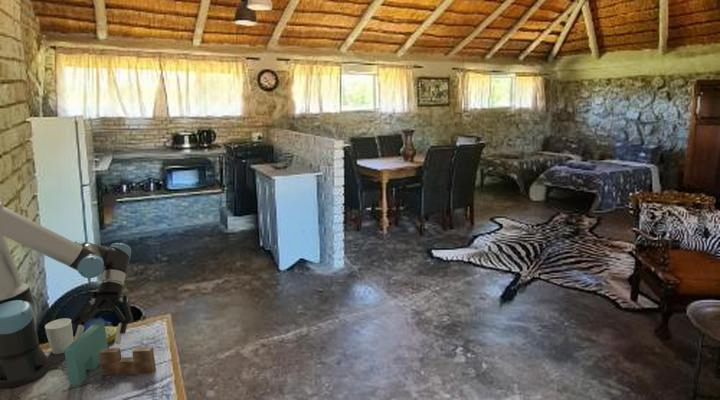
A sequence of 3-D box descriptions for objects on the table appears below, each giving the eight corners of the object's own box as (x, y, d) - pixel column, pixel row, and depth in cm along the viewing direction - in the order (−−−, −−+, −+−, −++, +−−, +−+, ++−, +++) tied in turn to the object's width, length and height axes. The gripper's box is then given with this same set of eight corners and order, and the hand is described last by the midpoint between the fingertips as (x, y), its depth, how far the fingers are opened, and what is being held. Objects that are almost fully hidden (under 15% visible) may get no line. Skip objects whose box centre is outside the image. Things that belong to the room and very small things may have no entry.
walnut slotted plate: (102, 375, 149) (98, 352, 147) (106, 370, 151) (102, 348, 149) (152, 373, 149) (149, 350, 147) (155, 368, 152) (152, 346, 150)
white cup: (80, 343, 169) (76, 318, 166) (65, 355, 161) (60, 329, 159) (60, 343, 169) (55, 318, 167) (44, 354, 162) (39, 328, 160)
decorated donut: (88, 337, 174) (86, 327, 173) (119, 331, 177) (118, 322, 176) (81, 350, 164) (80, 340, 163) (115, 344, 168) (114, 335, 167)
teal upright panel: (100, 353, 162) (95, 322, 159) (109, 353, 162) (103, 321, 159) (70, 385, 144) (63, 350, 141) (80, 384, 144) (73, 349, 141)
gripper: (150, 287, 171) (138, 345, 159) (82, 289, 170) (65, 348, 159) (142, 279, 164) (129, 339, 153) (71, 282, 163) (52, 342, 152)
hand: (96, 344), depth 156 cm, fingers open, 13 cm apart
